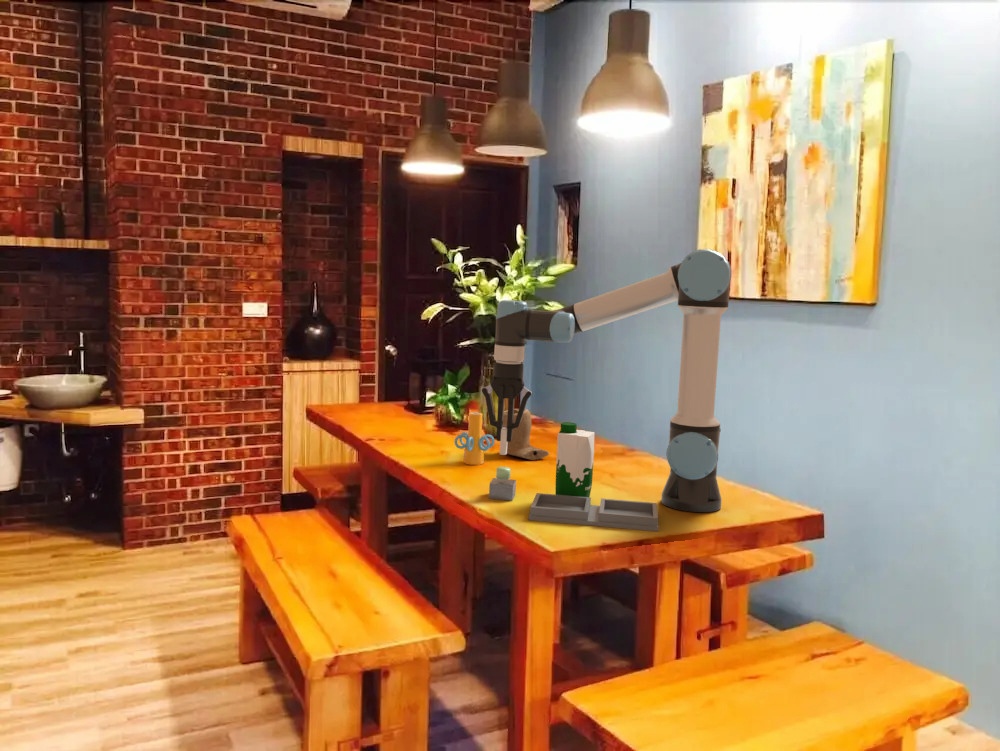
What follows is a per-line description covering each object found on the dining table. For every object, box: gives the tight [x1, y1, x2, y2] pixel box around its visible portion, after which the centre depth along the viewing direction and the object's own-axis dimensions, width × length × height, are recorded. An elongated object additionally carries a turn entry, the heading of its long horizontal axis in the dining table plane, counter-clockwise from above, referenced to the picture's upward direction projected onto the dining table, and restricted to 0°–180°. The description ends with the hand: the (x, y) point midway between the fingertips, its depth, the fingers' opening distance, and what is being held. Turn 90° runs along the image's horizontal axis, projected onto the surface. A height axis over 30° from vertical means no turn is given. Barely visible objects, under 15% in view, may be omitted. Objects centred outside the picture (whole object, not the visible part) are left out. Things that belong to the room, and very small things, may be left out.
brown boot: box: [503, 408, 550, 461], centre depth 275 cm, size 15×12×15 cm
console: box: [488, 477, 517, 502], centre depth 226 cm, size 6×6×4 cm
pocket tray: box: [528, 492, 659, 532], centre depth 211 cm, size 30×14×3 cm, turn 81°
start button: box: [495, 466, 512, 479], centre depth 225 cm, size 4×4×2 cm
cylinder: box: [454, 411, 495, 466], centre depth 263 cm, size 12×10×15 cm
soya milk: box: [555, 421, 595, 498], centre depth 223 cm, size 9×9×20 cm
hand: (503, 453), depth 225 cm, fingers closed
